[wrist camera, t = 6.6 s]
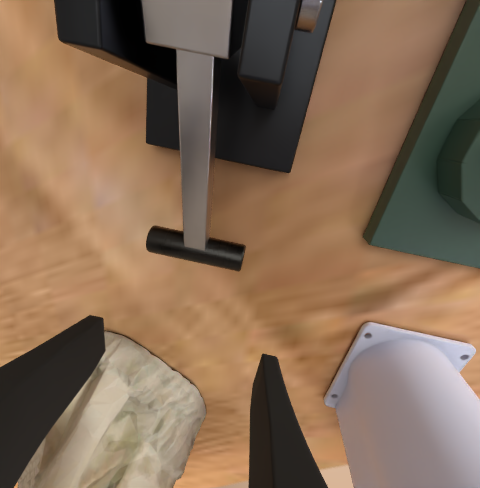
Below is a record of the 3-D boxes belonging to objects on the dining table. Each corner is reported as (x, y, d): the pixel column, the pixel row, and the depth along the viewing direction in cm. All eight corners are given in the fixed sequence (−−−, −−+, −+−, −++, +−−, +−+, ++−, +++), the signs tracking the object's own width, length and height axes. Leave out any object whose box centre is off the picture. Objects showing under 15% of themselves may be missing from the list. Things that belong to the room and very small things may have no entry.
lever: (244, 251, 15) (237, 284, 13) (161, 233, 15) (143, 264, 13) (320, -92, 6) (328, -126, 4) (113, -131, 6) (40, -179, 4)
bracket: (288, 170, 14) (310, 222, 7) (154, 142, 15) (16, 159, 7) (354, -79, 10) (656, -825, 2) (162, -115, 10) (-198, -928, 2)
